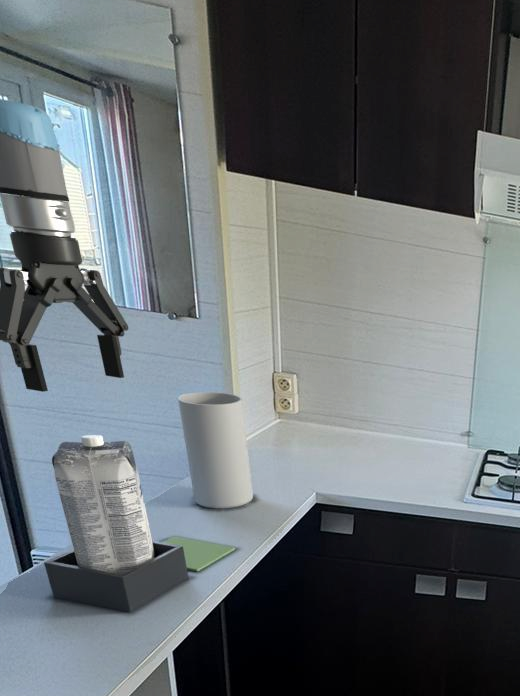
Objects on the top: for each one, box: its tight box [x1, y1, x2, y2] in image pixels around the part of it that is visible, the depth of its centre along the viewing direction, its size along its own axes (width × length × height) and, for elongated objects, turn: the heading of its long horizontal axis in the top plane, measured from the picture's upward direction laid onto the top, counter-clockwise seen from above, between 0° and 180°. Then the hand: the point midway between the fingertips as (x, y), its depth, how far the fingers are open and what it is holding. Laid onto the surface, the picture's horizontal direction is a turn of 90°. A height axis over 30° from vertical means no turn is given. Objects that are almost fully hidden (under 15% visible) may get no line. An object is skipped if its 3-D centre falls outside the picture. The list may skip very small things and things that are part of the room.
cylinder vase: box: [177, 391, 254, 509], centre depth 149 cm, size 12×12×25 cm
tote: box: [43, 540, 190, 613], centre depth 113 cm, size 15×14×7 cm
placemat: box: [162, 535, 236, 572], centre depth 128 cm, size 14×11×1 cm
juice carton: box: [51, 434, 155, 575], centre depth 108 cm, size 9×10×27 cm
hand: (78, 383), depth 98 cm, fingers open, 13 cm apart
